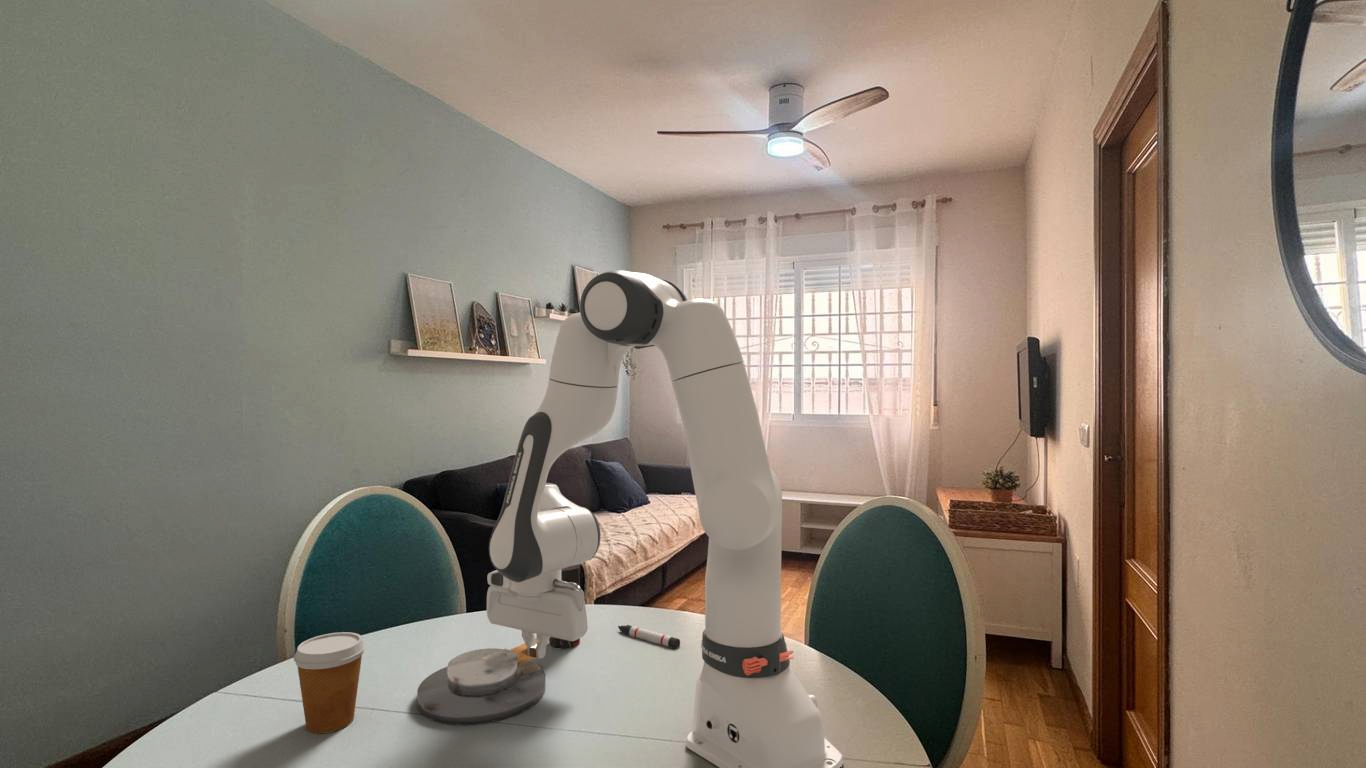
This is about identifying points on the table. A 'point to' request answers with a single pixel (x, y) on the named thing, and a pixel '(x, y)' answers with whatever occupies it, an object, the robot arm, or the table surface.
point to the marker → (650, 636)
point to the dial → (485, 670)
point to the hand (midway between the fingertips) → (536, 656)
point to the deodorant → (574, 576)
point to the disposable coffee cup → (329, 679)
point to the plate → (480, 698)
